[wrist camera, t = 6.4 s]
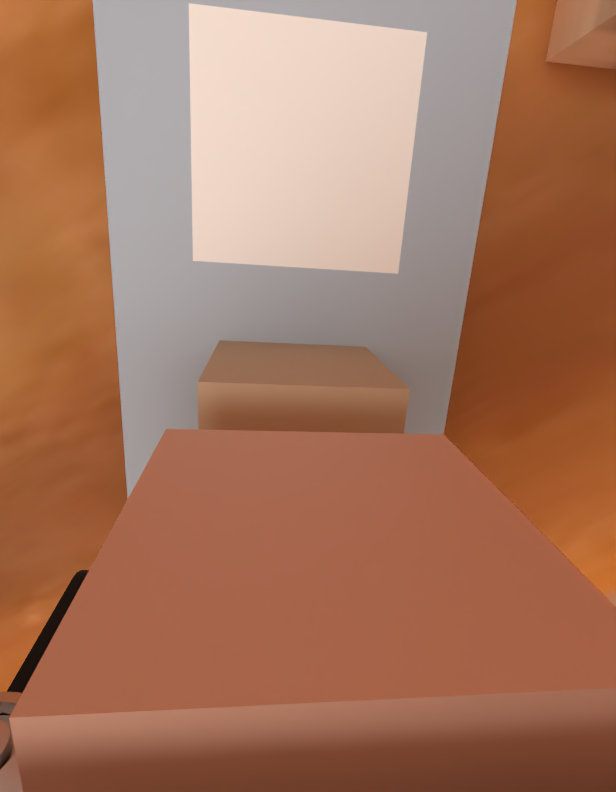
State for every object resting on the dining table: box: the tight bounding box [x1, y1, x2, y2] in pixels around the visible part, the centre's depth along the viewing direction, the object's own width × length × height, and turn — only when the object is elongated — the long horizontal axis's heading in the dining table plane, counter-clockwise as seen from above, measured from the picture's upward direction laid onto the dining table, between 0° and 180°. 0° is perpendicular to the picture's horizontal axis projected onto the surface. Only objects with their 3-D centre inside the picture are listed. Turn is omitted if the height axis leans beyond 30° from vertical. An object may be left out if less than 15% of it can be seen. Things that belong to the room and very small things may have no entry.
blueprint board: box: [93, 0, 517, 498], centre depth 15 cm, size 14×22×7 cm, turn 176°
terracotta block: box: [9, 429, 616, 792], centre depth 8 cm, size 6×6×6 cm
